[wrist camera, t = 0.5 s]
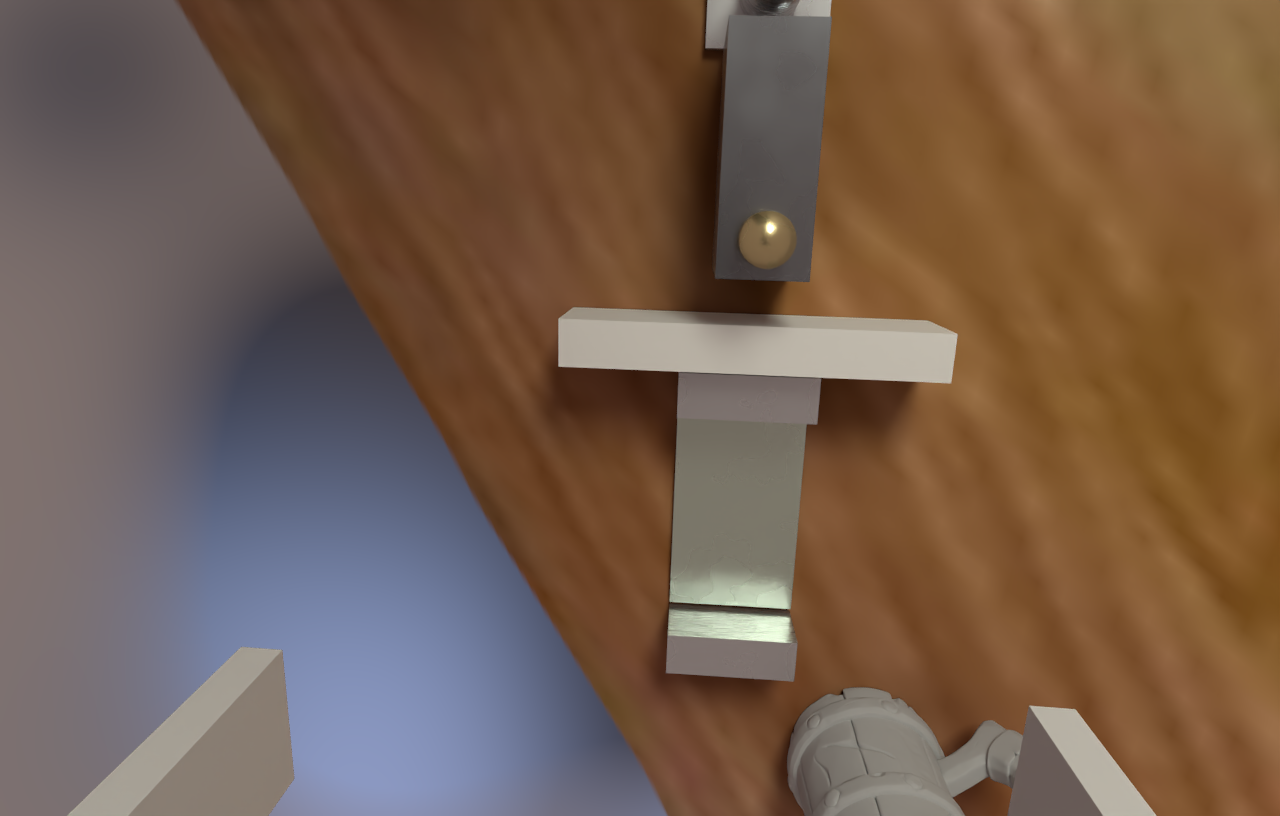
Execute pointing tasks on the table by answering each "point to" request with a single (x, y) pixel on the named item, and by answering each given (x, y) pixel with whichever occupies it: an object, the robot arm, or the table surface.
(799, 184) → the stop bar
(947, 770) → the mug
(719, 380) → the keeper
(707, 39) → the grey knobbed fixture
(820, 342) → the door edge
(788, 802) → the table surface
